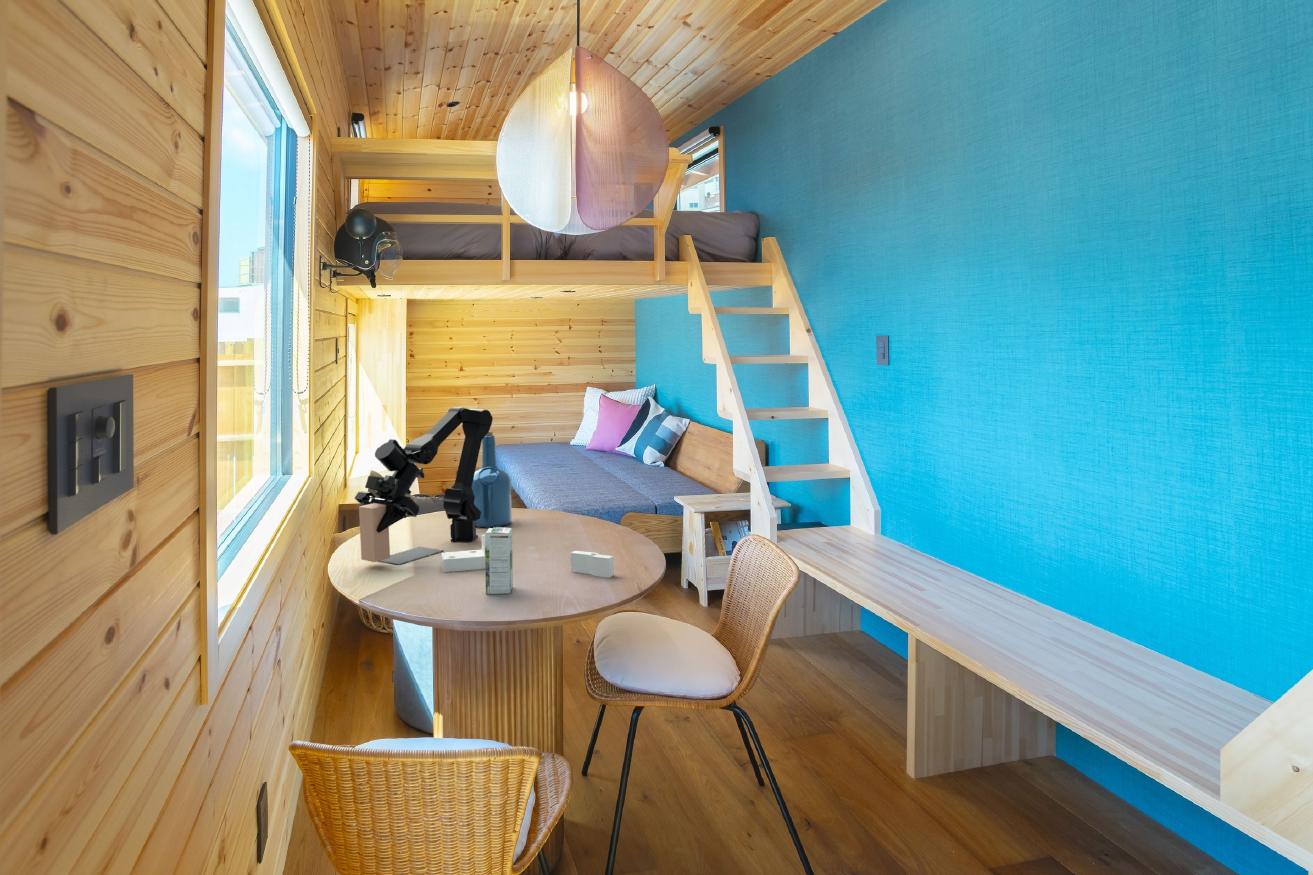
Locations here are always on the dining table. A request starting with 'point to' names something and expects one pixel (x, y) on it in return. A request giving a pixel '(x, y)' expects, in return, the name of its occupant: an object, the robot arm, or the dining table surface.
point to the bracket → (464, 559)
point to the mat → (410, 555)
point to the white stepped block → (592, 563)
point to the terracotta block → (373, 533)
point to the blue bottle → (491, 488)
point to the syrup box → (498, 560)
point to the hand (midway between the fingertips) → (370, 530)
